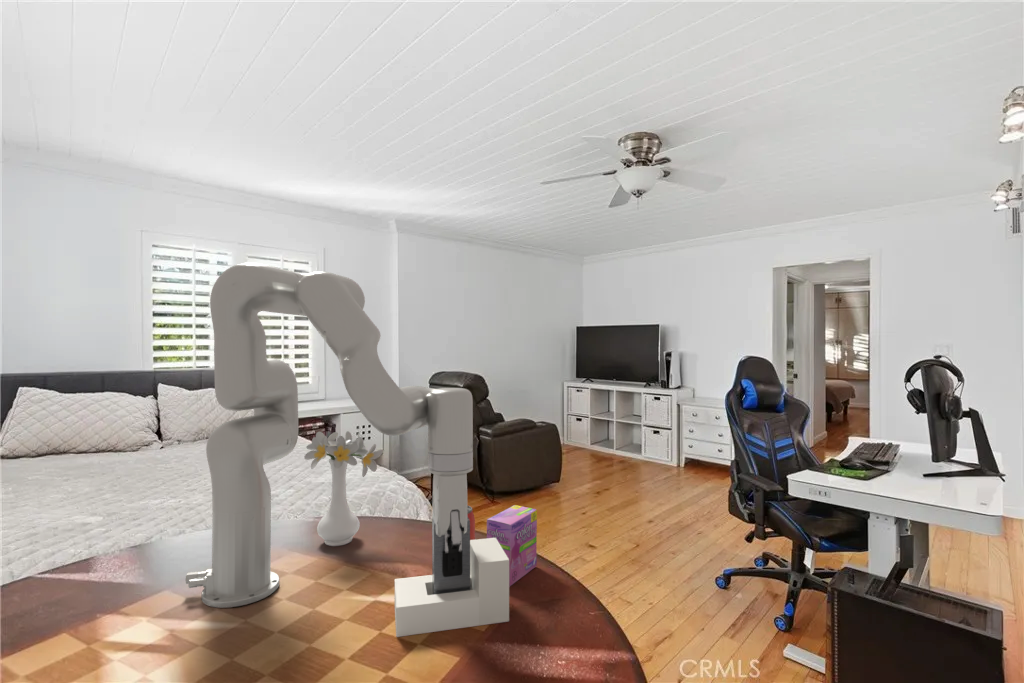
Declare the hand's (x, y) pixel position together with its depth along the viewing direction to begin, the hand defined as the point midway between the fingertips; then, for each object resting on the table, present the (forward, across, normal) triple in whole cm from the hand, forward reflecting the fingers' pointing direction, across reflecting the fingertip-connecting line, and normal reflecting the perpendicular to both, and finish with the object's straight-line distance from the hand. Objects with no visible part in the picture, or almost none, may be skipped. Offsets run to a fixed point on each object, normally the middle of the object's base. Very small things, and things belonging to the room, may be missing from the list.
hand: (451, 569), depth 85 cm
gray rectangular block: (+4, 0, 0) cm, 4 cm away
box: (+8, -12, +14) cm, 20 cm away
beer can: (+8, -17, +4) cm, 19 cm away
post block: (+7, 0, 0) cm, 7 cm away
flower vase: (+7, -38, -20) cm, 44 cm away
